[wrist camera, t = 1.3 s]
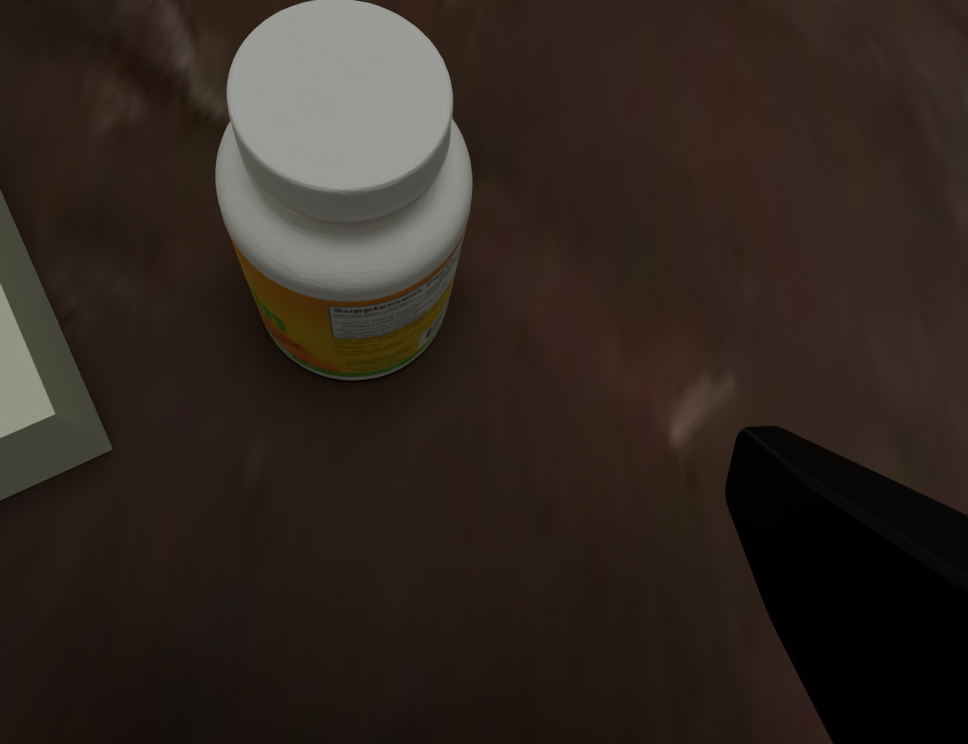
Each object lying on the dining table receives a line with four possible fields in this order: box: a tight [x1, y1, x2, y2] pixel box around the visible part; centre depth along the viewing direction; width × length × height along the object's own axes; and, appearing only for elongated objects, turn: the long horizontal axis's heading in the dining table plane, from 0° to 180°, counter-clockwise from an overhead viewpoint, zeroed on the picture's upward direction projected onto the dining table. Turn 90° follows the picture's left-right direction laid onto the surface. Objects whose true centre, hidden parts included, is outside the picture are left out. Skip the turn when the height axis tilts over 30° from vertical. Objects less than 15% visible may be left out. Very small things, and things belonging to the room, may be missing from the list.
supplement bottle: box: [216, 0, 472, 380], centre depth 19 cm, size 5×5×10 cm
